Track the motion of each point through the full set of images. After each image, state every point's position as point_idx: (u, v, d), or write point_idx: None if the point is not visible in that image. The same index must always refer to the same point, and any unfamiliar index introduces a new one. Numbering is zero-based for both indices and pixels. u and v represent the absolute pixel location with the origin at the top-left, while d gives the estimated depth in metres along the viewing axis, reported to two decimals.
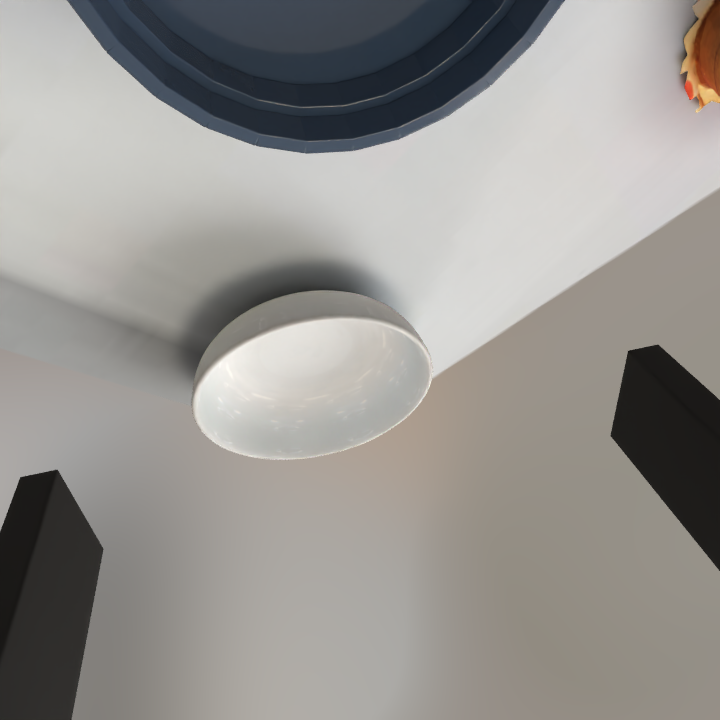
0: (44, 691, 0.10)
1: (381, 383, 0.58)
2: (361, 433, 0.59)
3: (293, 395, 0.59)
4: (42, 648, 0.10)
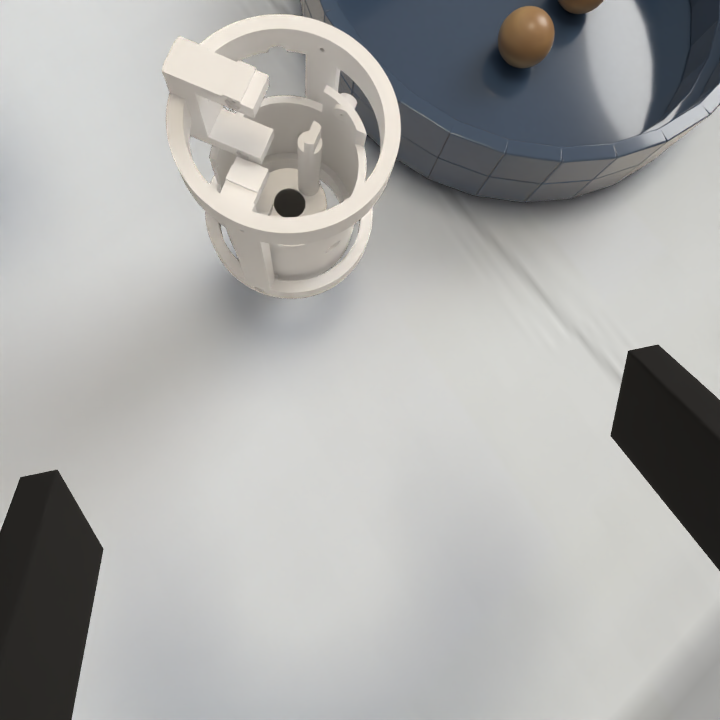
0: (44, 691, 0.10)
1: None
2: None
3: None
4: (42, 648, 0.10)
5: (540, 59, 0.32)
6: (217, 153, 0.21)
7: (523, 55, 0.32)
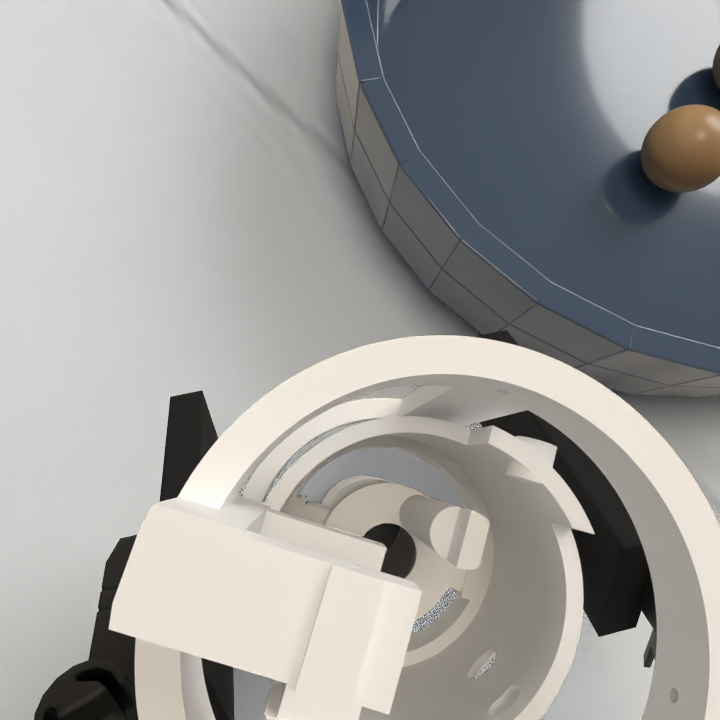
0: None
1: None
2: None
3: None
4: None
5: (713, 180, 0.21)
6: None
7: (691, 180, 0.21)
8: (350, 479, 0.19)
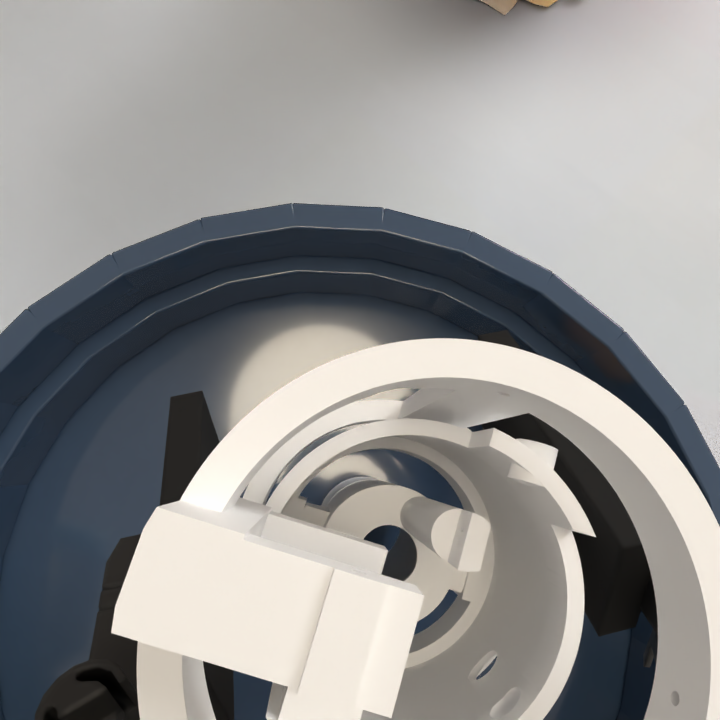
0: None
1: None
2: None
3: None
4: None
5: None
6: None
7: None
8: (350, 480, 0.19)
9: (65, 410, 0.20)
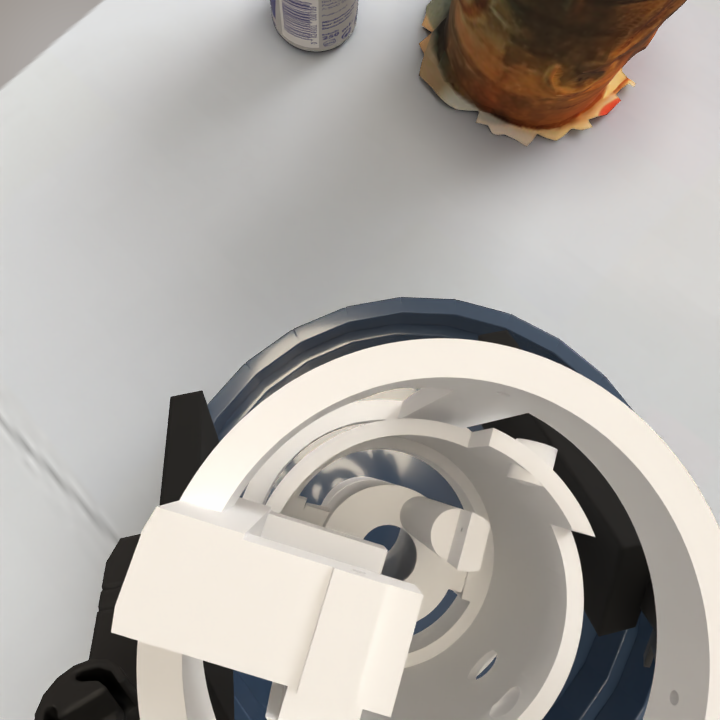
0: None
1: None
2: None
3: None
4: None
5: None
6: None
7: None
8: (350, 480, 0.19)
9: None
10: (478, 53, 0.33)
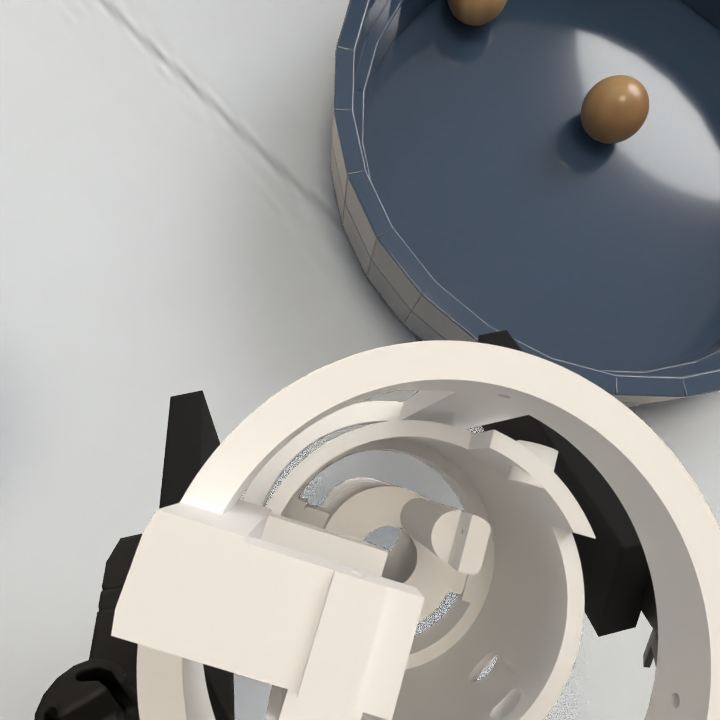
0: None
1: None
2: None
3: None
4: None
5: None
6: None
7: None
8: (350, 481, 0.19)
9: (402, 21, 0.29)
10: None
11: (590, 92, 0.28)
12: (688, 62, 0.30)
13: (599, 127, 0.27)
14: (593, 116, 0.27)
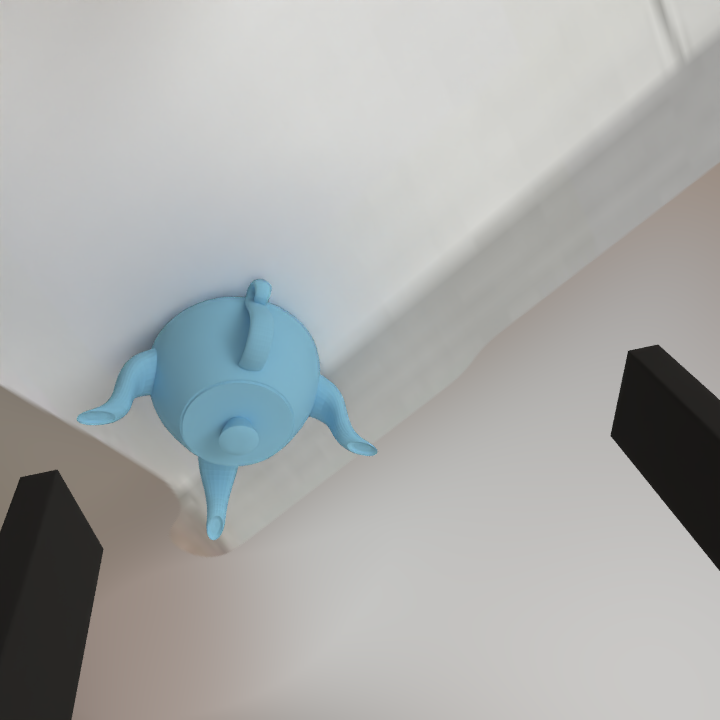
0: (44, 691, 0.10)
1: None
2: None
3: None
4: (42, 648, 0.10)
5: None
6: None
7: None
8: None
9: None
10: None
11: None
12: None
13: None
14: None
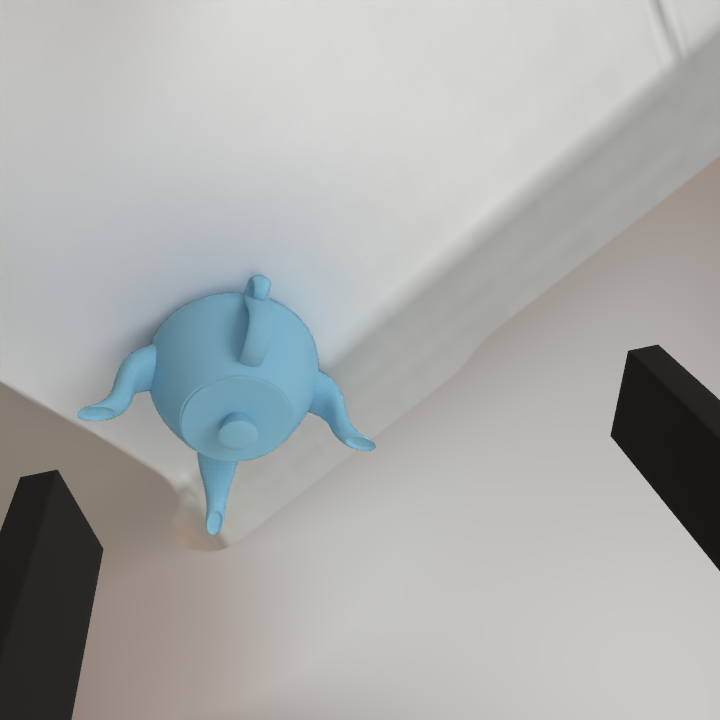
0: (45, 691, 0.10)
1: None
2: None
3: None
4: (42, 648, 0.10)
5: None
6: None
7: None
8: None
9: None
10: None
11: None
12: None
13: None
14: None
